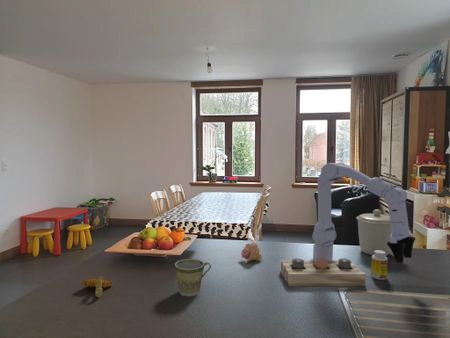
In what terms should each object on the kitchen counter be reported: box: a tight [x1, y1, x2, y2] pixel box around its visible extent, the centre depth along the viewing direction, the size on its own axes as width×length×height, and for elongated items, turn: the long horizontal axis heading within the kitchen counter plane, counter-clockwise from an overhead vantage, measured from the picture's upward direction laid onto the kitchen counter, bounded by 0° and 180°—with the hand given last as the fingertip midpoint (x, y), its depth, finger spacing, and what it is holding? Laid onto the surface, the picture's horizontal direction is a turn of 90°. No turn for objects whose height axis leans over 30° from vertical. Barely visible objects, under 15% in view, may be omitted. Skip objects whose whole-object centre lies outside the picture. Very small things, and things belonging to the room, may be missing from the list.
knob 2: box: [338, 258, 352, 269], centre depth 126 cm, size 4×4×4 cm
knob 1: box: [291, 258, 305, 269], centre depth 125 cm, size 4×4×4 cm
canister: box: [355, 209, 392, 257], centre depth 156 cm, size 18×18×21 cm
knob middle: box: [315, 259, 328, 269], centre depth 125 cm, size 4×4×4 cm
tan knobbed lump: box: [240, 240, 263, 264], centre depth 143 cm, size 9×10×10 cm
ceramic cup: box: [174, 258, 212, 297], centre depth 113 cm, size 13×10×10 cm
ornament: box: [81, 275, 113, 298], centre depth 113 cm, size 7×10×15 cm
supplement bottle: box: [370, 250, 388, 281], centre depth 127 cm, size 6×6×10 cm
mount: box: [280, 259, 367, 287], centre depth 126 cm, size 14×28×4 cm, turn 92°
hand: (403, 259), depth 117 cm, fingers open, 7 cm apart
